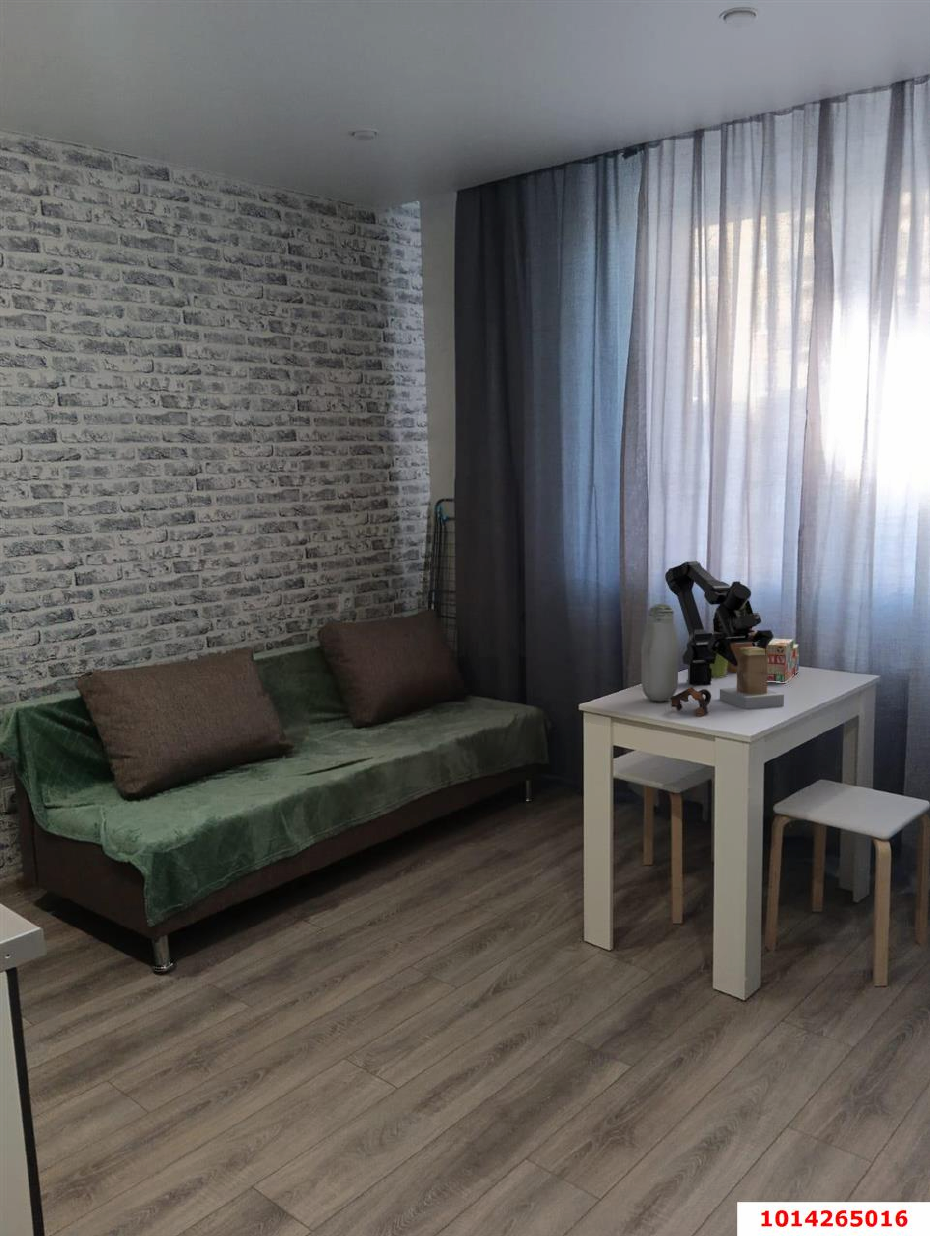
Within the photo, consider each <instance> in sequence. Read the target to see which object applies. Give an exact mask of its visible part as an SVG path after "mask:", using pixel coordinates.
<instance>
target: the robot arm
mask: <svg viewBox="0 0 930 1236" xmlns="http://www.w3.org/2000/svg"><path fill="white" fill-rule="evenodd" d="M664 579H665V582H666V584H667V587H668V589H669V590H670V591H671V592H672V593H673V594H674V595H676V597H677V600H678V603H679V607H680V611H681V614H682V617H683V620H684V622H685V626H686V630H687V633H688V639H687V643H686V650H685V651H684V654H682V663H683V664H685V665H687V679H686V682H687V684H689V685H690V686H696V685H697V686H698V685H702V686H703V685H706V686H707V685H709V686H710V685H712V681H713V680H712V677H713V676H712V669H711V668H710V664H715V659H716V655H717V654H719V655H720V656H722V657H723V658H725V659H726V660H728V661H729V662H730V663H731V664H733V665H734V666H737V665H738V663H737V660H736V658H735V655H734V653H733V651H732V649H731V644H742V643H752V645H753V647H759V648H763V649H765V654H766V647H767V645H768V644H769V642H770V641H772V640H773V639H774V638H775V637H774V633H773V631H772V630H770V629H758V630H757V631H756V634H755V635H753V636H749V633H751V631H752V630H753V628H754V627H757V626H758V625H760V624H761V622H762V618H761V616H760V614H759V612H753V613H752V614H751V615H742V616H740V614H739V612H738V611H739V610H741V609H742V608H743V607H744V605H745V604H746V602H747V601H748V600H749V599H750V598H751V596H752V592H751V589H750V588H749V587H748V586H746V585H744V584H742V583H741V582H740V581H738V580H737V581H733V582H732V583H731V585H730V584H729V583H726V582H724V581H721V580H718V579H716V578H715V577H714V576H713V575H711V574H710V572H708V571H707V570H706V569H705V568H704V567H703V566H702V565H701V562H700V561H697V560H695V561H692V560H691V561H684V562H682V563H680V564H679V565H676V566H674V567H670V568H668V570H667V571H666V572H665V576H664ZM695 584H696V585H697V586H698V587H699V588H700V589H701V590H703V593H704V594H703V598H704V599H705V600H706V602H707V603H708V604H709V605H711V606H714V605H718V606H717V608H715V612H714V613H713V614H714V615H713V618H714V617H719V618H720V621H721V623H722V625H723V628H722V632H723V633H714V634H713V632H707V631H705V629H704V628H705V627H704V625H703V621H702V618H701V616H700V612H699V609H698V606H697V603H696V602H697V601H696V599H695V595H694V593H693V588H694V585H695ZM751 628H752V629H751ZM725 632H726V633H725Z"/></svg>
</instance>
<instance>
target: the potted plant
mask: <svg viewBox="0 0 930 1236" xmlns="http://www.w3.org/2000/svg"><path fill="white" fill-rule="evenodd" d="M750 602H751V601H750V600H749V599H748V601H747V602H746V604H745V605H744V607H743V608H742V609H741V610H739V611H738V612H739V614H740V616H742V615H751V614H752V613H754V610H753V607H752V605H751V603H750ZM712 623H713V624H712V626H713V628H712V629H713V631H712V634H714V633H723V632H722V628H723V625H722V623H721V621H720V618H719V617H714V616H713V619H712ZM751 629H752V631H751V633H749V636H753V635H755V634H756V632H757V631H756V630H755V629H753V627H752V628H751ZM725 633H726V632H725ZM742 647H753V645H752V643H742V644H731V649H732V651H733V653H734V655H735V658H736V660H737V653H740V648H742ZM727 671H730V672H729V673H737V666H734V665H733V664H731V663H730V662H729V661H728V665H727Z"/></svg>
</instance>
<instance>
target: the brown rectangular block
mask: <svg viewBox="0 0 930 1236" xmlns="http://www.w3.org/2000/svg"><path fill="white" fill-rule="evenodd" d="M737 663H738V665H737V672H736V688H737V691H739V692H742V693H745V694H747V695H751V694H763V693H767V690H768V682H767V664H768V655H767V654H765V649H763V648H759V647H742V648H740V653H737Z"/></svg>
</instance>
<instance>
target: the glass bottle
mask: <svg viewBox="0 0 930 1236" xmlns="http://www.w3.org/2000/svg"><path fill="white" fill-rule="evenodd" d="M646 615H647V618H646V619H647V620H646V625H645V630H644V634H643V637H642V642H641V648H640V649H641V653H640V656H641V657H640V658H641V687H642V691H643V693H644V696H645V697H646V698H647V699H648V700H650V701H654V702H659V703H660V702H665V701H669V700H670V698H671V697H673V696H675V695H676V693H677V690H678V684H679V660H680V659H679V658H680V657H679V654H680V653H679V652H680V648H679V647H680V646H679V641H678V635H677V631H676V626H675V613H674V610H673V607H671V605H669V604H667V603H658V604H657V603H656V604H654V605H652V606H651V607H649V609H648V611H647V614H646Z"/></svg>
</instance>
